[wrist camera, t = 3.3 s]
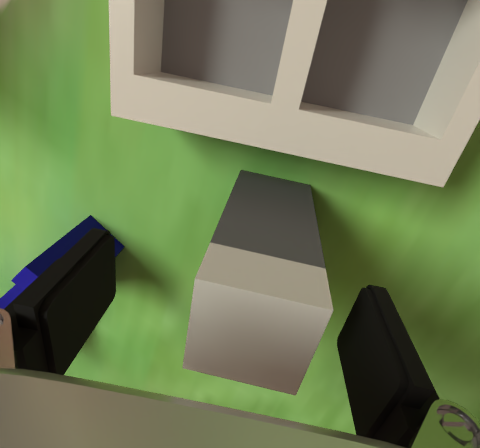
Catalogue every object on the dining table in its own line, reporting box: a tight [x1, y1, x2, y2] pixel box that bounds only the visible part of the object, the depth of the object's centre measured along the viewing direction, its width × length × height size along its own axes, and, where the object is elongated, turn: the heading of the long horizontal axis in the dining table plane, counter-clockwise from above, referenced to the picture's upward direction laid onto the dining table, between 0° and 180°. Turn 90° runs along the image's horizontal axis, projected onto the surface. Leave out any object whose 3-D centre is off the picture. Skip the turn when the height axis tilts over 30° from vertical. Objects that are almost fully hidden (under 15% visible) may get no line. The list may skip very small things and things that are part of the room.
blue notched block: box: [0, 215, 124, 309], centre depth 21 cm, size 12×4×6 cm, turn 131°
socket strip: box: [109, 0, 480, 187], centre depth 12 cm, size 14×9×4 cm, turn 80°
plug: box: [183, 170, 333, 395], centre depth 14 cm, size 4×4×10 cm
